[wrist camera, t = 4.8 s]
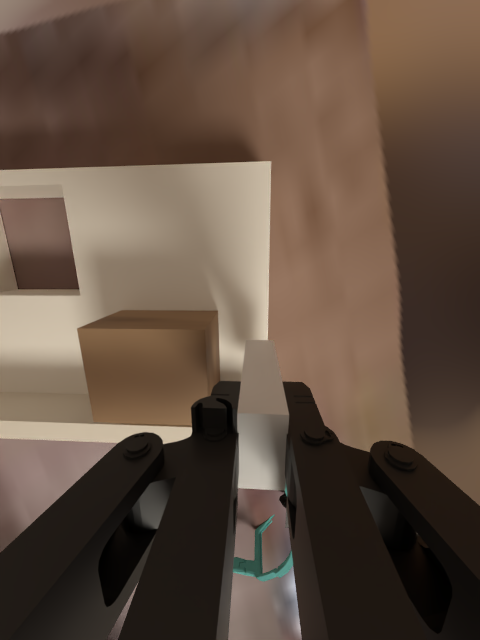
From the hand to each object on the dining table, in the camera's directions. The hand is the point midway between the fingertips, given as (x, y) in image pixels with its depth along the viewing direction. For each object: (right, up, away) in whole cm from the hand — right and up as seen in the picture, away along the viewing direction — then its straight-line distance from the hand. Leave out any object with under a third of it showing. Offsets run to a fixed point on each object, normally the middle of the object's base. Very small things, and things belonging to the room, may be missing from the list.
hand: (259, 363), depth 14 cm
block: (-5, +1, +2) cm, 6 cm away
